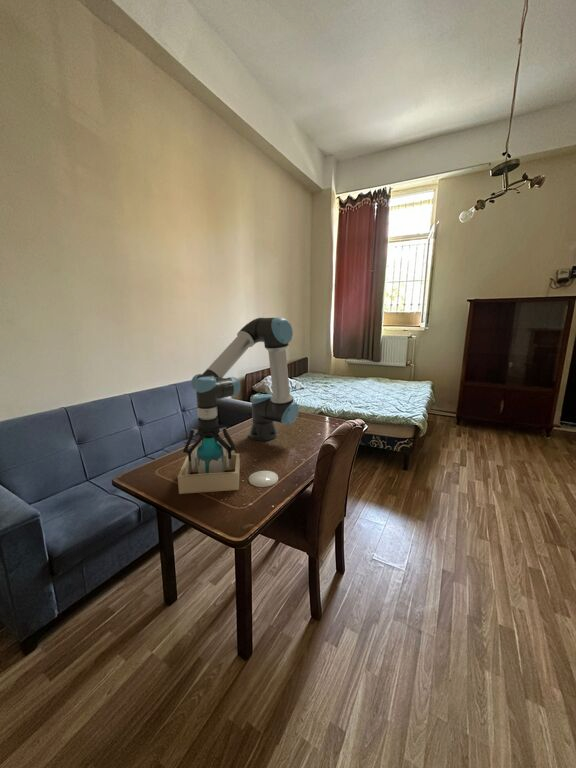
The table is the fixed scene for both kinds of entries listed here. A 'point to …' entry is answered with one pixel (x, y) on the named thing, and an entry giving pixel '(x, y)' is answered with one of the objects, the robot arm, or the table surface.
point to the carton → (209, 476)
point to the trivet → (263, 478)
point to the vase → (210, 457)
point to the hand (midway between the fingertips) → (210, 467)
